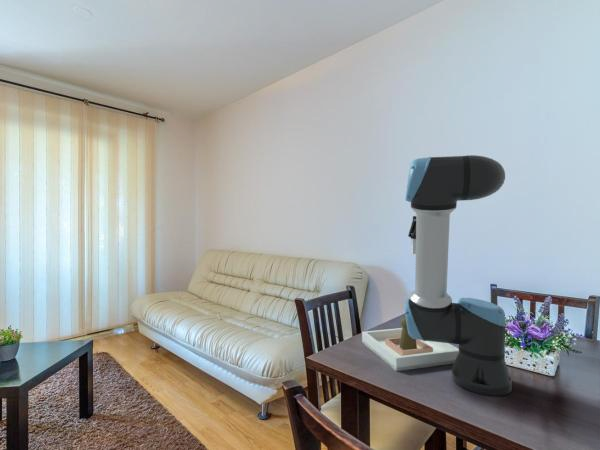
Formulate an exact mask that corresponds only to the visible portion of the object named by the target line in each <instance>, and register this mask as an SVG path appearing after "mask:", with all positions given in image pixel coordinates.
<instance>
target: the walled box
mask: <svg viewBox="0 0 600 450" xmlns="http://www.w3.org/2000/svg"><path fill="white" fill-rule="evenodd" d="M401 332H402V327H400V328H399V327H397V328H389V329H378V330H376V329H375V330H369V331H367V330H365V331H361V333H362V334H361V341H362V344H364V345H365V346H366V347H367V348H368V349H369V350H370V351H372V352H373V353H374V354H375V355H377V356H378V357H379V358H380V360H383V362H384V363H386V364H387V365H388V366H389V367H391V368H392V370H394V371H396V372H400V371H408V370H409V371H410V370H416V369H421V368H422V369H423V368H432V367H437V366H438V367H439V366H444V365H446V366H447V365H452V364H453V365H454V364H455V360H456V357H457V354H458V350H459V347H456V346H454V345H453V344H451V343H442V342H433V341H423V340H418V339H416V344H417V349H410V350H403V349H401V348H400V347H399V346H400V339H401Z"/></svg>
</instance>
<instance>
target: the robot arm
mask: <svg viewBox="0 0 600 450" xmlns="http://www.w3.org/2000/svg"><path fill="white" fill-rule="evenodd" d="M505 181H506V172H505V169H504V167H503V166H502V164H501V163H500V162H499V161H497V160H495V159H493V158H490V157H487V156H483V155H476V154H475V155H473V154H471V155H470V154H469V155H455V156H452V155H451V156H433V157H431V156H428V157H421V158H416V159H413V160H412V161H411V163H410V166H409V173H408V179H407V185H406V193H405V201H406V202H408V203H410V208H411V209H412V210H413V212H415V215H413V216H412V222H411V225H410V228H409V232H408V234H407V235H408V238H410V239H411V255H415V273H414V274H415V279H414V280H415V281H414V287H415V288H414V290H413V291H412V292H410V294H409V298H407V299H405V300H404V311H405V313H404V314H405V317H406V323H407V330H408V334H409V336H410V337H411V338H413V339H418V340H423V341H433V342H442V343H449V344H451V345H453V344H454V345H458V349H459V350H458V354H457V357H456V360H455V363H454V364H453V365H452V366H451V378H452V380H453V381H454V383H456V384H457V385H458V386H460V387H462V388H464V389H465V390H468V391H469V392H472V393H476V394H480V395H484V396H490V397H491V396H493V397H498V396H506V395H509V394H510V393H511V392H512V389H513V388H512V387H513V386H512V385H513V383H512V382H513V381H512V378H511V376H510V373H509V370H508V369H509V368H508V366H507V363H506V357H505V355H506V326H507V324H506V314H505V311H504V309H503V307H500V306H499V305H497V304H496V303H492V302H489V301H486V300H482V299H478V298H473V297H460V298H459V299H458V301H457V302H458V303H457V302H453V298H452V297H451V296H450V295H449V294H448V292H447V289H448V288H447V287H448V285H447V284H448V265H449V262H448V261H449V244H450V241H449V240H450V217H451V213H452V212H454V211H455V210H457V202H458V201H461V202H462V201H475V200H481V199H484V198H487V197H489V196H491V195H494V194H495V193H496V192H498V191H499V190H500V189H501V188H502V187H503V185H504V183H505Z"/></svg>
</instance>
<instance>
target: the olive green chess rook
mask: <svg viewBox="0 0 600 450" xmlns="http://www.w3.org/2000/svg"><path fill="white" fill-rule="evenodd" d="M400 325H401V328H402V332H401V339H400V346H399V347H400V348H401V349H403V350H410V349H417V344H416V339H413V338H411V337H410V336H409V334H408V330H407V323H406V316H405V317H402V318H401V320H400Z"/></svg>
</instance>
